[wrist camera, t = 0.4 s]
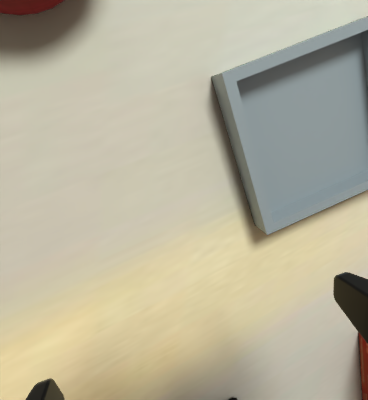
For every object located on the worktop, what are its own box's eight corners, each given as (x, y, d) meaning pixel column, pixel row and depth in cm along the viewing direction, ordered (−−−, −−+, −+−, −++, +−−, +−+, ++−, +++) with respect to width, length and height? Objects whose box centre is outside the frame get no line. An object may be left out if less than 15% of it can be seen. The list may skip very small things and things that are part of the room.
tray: (377, 169, 26) (400, 174, 24) (254, 224, 25) (267, 235, 23) (362, 18, 21) (388, 8, 19) (211, 76, 20) (221, 73, 18)
